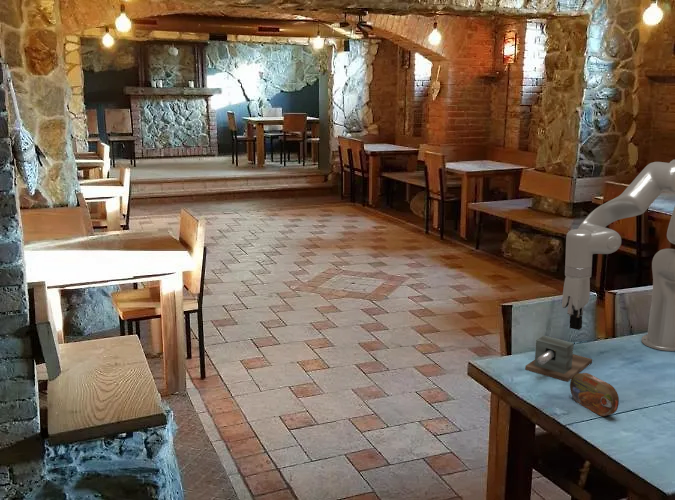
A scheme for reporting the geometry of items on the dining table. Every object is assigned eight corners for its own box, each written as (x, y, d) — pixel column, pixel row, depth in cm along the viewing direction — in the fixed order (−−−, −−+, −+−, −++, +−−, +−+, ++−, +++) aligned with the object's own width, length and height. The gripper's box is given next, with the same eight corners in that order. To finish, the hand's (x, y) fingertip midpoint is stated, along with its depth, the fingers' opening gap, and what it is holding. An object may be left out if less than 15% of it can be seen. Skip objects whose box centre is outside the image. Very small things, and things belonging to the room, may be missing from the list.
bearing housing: (551, 351, 214) (553, 324, 212) (591, 362, 206) (594, 334, 204) (525, 369, 201) (527, 340, 199) (567, 381, 193) (570, 351, 191)
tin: (567, 397, 183) (570, 368, 181) (577, 395, 185) (579, 366, 183) (609, 422, 170) (612, 391, 168) (619, 419, 171) (622, 389, 169)
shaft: (551, 353, 204) (553, 337, 203) (567, 357, 201) (569, 341, 200) (532, 366, 195) (533, 350, 194) (548, 371, 192) (550, 354, 190)
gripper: (576, 263, 210) (573, 318, 215) (555, 275, 200) (553, 333, 204) (600, 266, 206) (597, 323, 210) (580, 279, 195) (577, 338, 200)
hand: (575, 328), depth 207 cm, fingers closed
